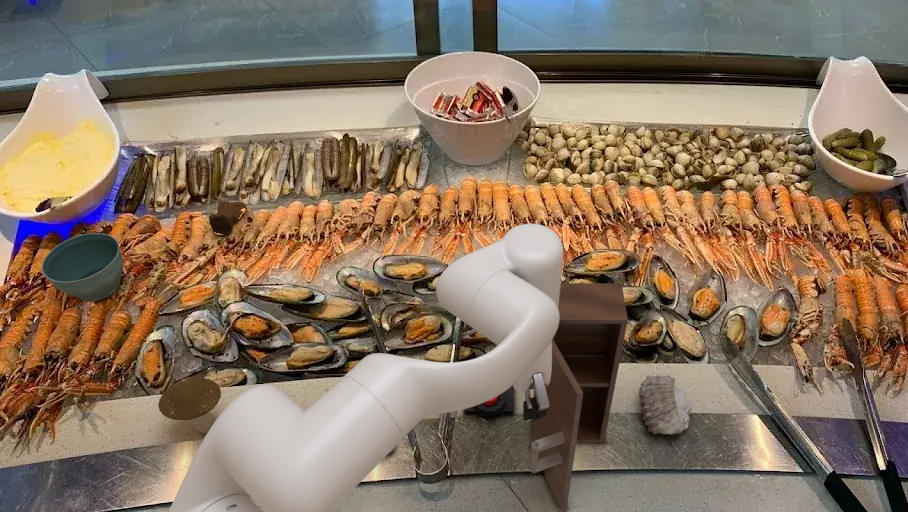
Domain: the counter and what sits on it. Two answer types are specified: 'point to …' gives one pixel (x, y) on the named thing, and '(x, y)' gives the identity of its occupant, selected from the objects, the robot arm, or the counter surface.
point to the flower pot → (85, 266)
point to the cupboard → (592, 348)
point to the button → (491, 401)
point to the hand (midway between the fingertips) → (525, 387)
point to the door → (557, 429)
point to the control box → (495, 406)
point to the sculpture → (226, 217)
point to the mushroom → (191, 401)
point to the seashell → (664, 405)
